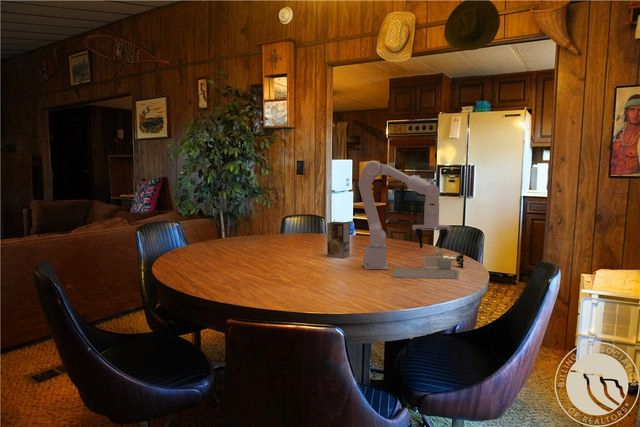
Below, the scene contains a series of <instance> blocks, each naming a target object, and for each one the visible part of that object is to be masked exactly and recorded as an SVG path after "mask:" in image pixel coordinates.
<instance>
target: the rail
mask: <svg viewBox="0 0 640 427" xmlns="http://www.w3.org/2000/svg"><path fill="white" fill-rule="evenodd" d="M437 268H438V269H432V268H423V267H421V268H419V267H393V268H392V278H393V279H396V278H405V279H406V278H407V279H408V278H411V279H413V278H414V279H415V278H416V279H455V280H459V276H460V275H459V274H460V271H459V269H456V268H452V261H451V260H450V259H446V258H438V267H437Z"/></svg>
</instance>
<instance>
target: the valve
mask: <svg viewBox="0 0 640 427" xmlns="http://www.w3.org/2000/svg"><path fill="white" fill-rule="evenodd" d="M433 255H436V256H437V268H438V258H446V259H450V260H451V262H454V261H455V262H456V263H457V265H459V268H463V267H464V262H465V259H464V251H460V252H459V255H457V256H456V257H454V256H448V255H447V254H445V255H444V251H443V250H442V249H440V250H439V249H436V250H433Z"/></svg>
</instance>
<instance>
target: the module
mask: <svg viewBox="0 0 640 427" xmlns="http://www.w3.org/2000/svg"><path fill="white" fill-rule="evenodd" d="M422 268H432V269H438V267H437V256H436V255H434V254H430V253H427V254H426V253H425V254H423V267H422Z"/></svg>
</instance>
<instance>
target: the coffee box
mask: <svg viewBox="0 0 640 427" xmlns="http://www.w3.org/2000/svg"><path fill="white" fill-rule="evenodd" d="M326 224H327V225H326V228H327V229H326V230H327V231H326V236H327V240H326V241H327V242H326V243H327V245H326V246H327V247H326V248H327V257H329V258H337V259H338V258H340V259H346V258H348V257H350V255H351V253H350V251H351V250H350V249H351V247H350V246H351V245H350V244H351V243H350V242H351V241H350V239H351V238H350V237H351V236H350V235H351V234H350V232H351V222H350V221H349V222H347V221H346V222H344V221H330V222H327V223H326Z"/></svg>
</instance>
